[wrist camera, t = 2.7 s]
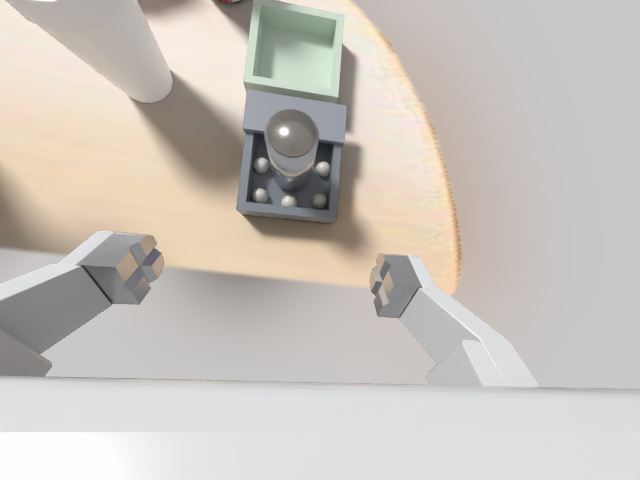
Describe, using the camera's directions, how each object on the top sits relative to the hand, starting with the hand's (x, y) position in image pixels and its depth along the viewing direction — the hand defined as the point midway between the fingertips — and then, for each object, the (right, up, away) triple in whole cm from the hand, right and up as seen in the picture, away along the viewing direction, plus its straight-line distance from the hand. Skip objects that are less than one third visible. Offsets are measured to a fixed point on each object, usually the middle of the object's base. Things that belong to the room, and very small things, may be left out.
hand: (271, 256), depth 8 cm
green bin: (-2, +25, +24) cm, 35 cm away
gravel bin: (-2, +11, +23) cm, 25 cm away
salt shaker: (-2, +9, +22) cm, 24 cm away
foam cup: (-21, +22, +22) cm, 37 cm away
